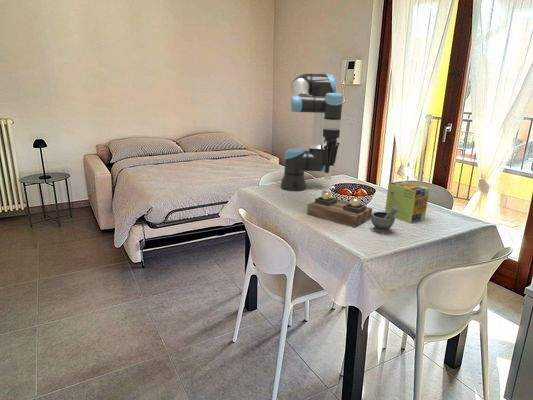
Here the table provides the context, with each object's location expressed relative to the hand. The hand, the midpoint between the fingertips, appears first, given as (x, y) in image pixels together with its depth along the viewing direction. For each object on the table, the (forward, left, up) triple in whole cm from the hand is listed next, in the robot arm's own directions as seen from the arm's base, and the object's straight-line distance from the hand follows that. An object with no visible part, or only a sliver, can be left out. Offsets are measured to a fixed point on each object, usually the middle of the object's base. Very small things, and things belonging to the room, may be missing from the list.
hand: (327, 179), depth 178 cm
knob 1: (0, 0, -11) cm, 11 cm away
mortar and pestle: (+3, +31, -17) cm, 35 cm away
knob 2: (0, +15, -11) cm, 19 cm away
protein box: (-22, +31, -17) cm, 41 cm away
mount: (0, +8, -17) cm, 18 cm away
